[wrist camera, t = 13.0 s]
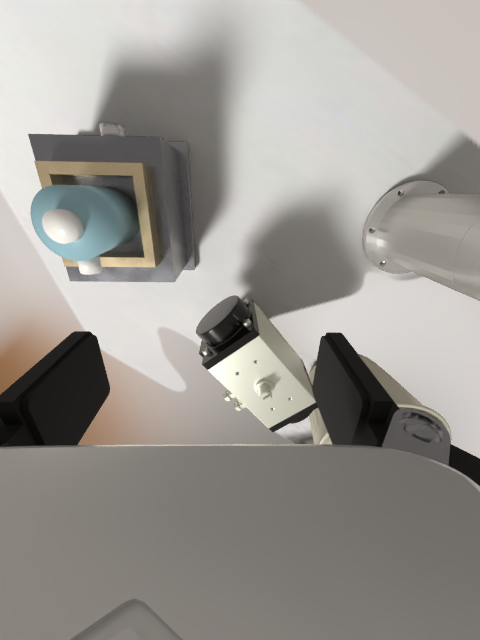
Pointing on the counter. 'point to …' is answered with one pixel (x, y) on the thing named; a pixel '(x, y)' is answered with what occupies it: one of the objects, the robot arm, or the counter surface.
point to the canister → (392, 388)
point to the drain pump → (83, 222)
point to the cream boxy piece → (255, 363)
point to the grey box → (140, 186)
